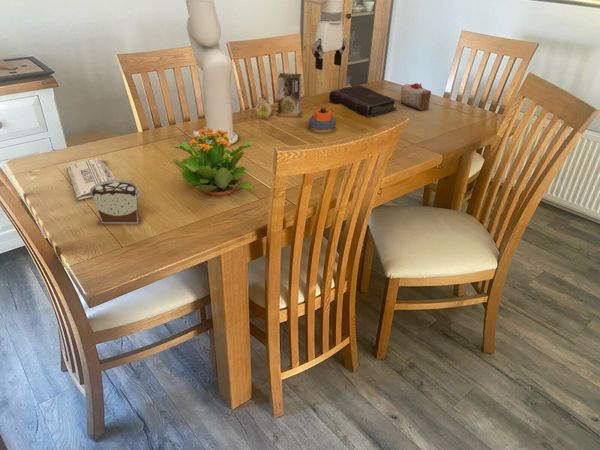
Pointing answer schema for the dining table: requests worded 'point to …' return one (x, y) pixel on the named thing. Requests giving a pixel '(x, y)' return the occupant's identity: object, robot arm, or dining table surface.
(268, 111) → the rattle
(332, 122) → the blue ring
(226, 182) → the potted flower
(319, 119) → the orange ring
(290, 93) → the coffee box
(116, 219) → the cake slice
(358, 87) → the diary
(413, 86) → the food item
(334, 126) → the ring post
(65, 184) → the dining table surface
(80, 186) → the newspaper
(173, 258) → the dining table surface
